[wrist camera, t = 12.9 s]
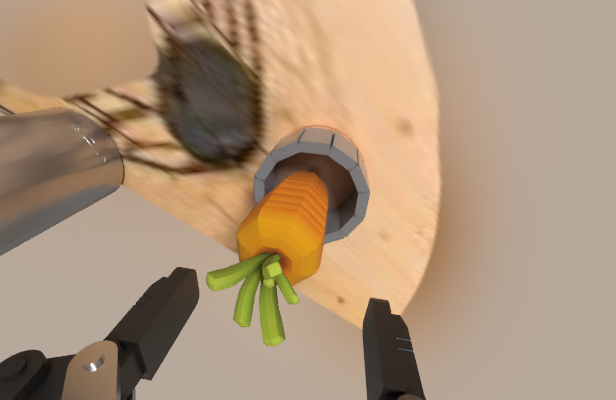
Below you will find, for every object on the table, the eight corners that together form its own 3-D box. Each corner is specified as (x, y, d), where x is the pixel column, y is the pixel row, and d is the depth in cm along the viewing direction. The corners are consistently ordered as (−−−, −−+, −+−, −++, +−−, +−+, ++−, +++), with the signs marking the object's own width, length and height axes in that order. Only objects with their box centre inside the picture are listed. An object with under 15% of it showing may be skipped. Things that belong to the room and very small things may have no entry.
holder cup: (296, 223, 27) (286, 255, 23) (254, 148, 24) (233, 169, 19) (377, 196, 24) (384, 226, 20) (343, 108, 21) (341, 120, 17)
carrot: (276, 158, 23) (159, 287, 10) (329, 141, 21) (274, 270, 8) (296, 205, 25) (221, 366, 12) (346, 194, 23) (323, 365, 10)
